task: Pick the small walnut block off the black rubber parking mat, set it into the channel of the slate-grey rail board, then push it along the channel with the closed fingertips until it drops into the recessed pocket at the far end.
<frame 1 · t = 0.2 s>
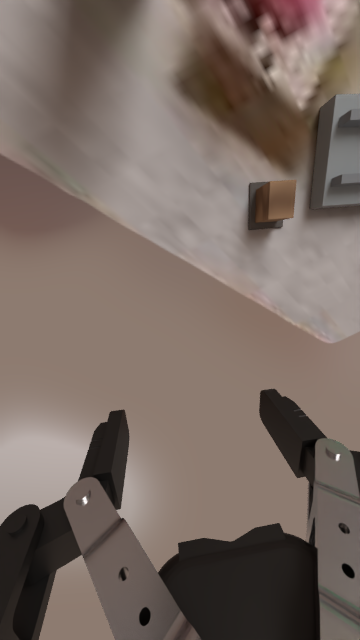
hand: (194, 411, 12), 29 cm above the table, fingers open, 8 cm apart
parking mat: (266, 206, 36), on the table
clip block: (274, 203, 34), point 3 cm above the table, touching parking mat
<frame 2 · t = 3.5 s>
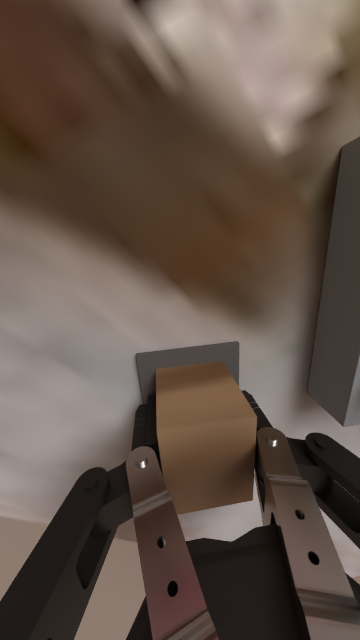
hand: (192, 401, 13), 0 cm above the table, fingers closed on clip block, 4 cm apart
parking mat: (191, 396, 14), on the table
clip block: (199, 428, 11), point 3 cm above the table, touching gripper, parking mat
when the fingers open (4 cm above the table, at t = 7.6 s): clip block drops 1 cm, resting on rail board.
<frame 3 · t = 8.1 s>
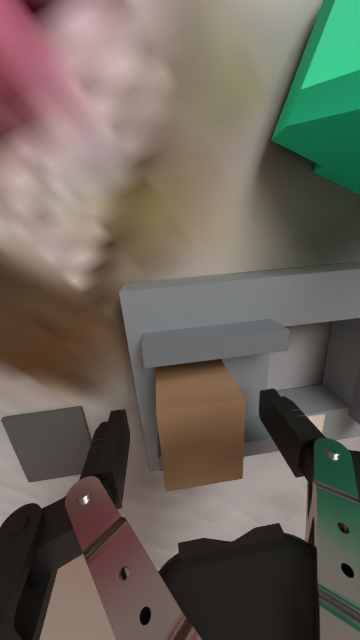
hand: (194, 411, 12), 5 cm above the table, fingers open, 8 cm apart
rail board: (248, 357, 18), on the table
parking mat: (55, 444, 18), on the table
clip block: (194, 414, 12), point 5 cm above the table, touching rail board
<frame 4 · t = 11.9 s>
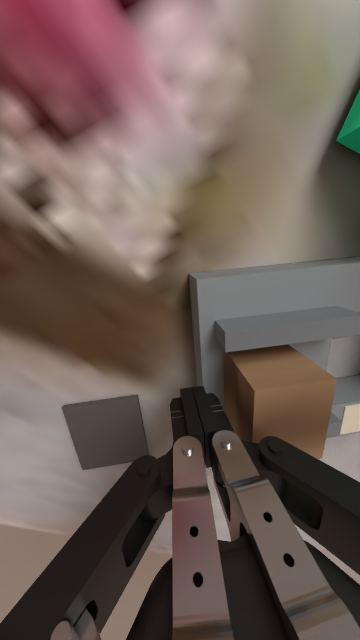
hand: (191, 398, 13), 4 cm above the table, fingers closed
rail board: (299, 346, 18), on the table
parking mat: (109, 432, 19), on the table
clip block: (268, 397, 13), point 5 cm above the table, touching gripper, rail board
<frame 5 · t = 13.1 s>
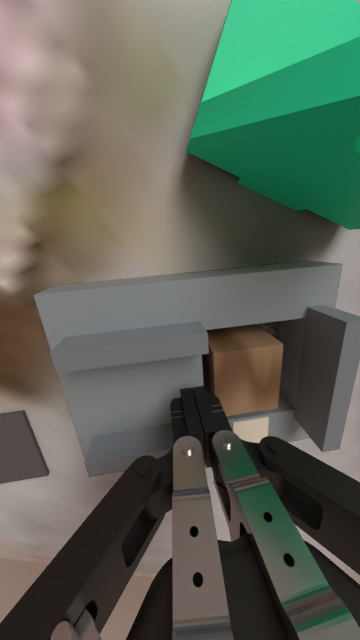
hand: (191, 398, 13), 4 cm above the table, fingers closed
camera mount: (291, 134, 14), on the table
rail board: (195, 359, 17), on the table
parking mat: (0, 449, 18), on the table
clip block: (236, 366, 16), point 2 cm above the table, tilted 90°
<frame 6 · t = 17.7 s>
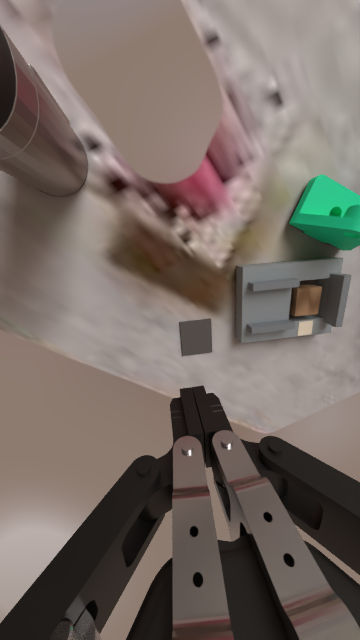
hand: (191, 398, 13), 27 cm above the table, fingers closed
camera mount: (322, 216, 38), on the table
rail board: (281, 298, 41), on the table
parking mat: (196, 337, 42), on the table
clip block: (300, 299, 40), point 2 cm above the table, tilted 90°
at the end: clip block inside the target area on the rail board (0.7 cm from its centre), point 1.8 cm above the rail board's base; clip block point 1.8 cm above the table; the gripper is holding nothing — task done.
